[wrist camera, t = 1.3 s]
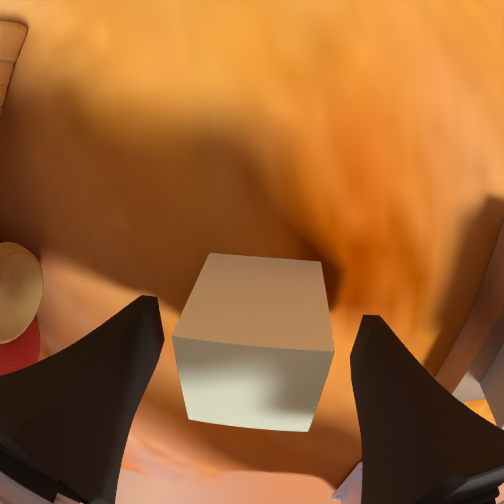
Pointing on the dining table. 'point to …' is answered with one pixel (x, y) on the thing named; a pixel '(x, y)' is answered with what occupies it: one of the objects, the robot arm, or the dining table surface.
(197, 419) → the sage block
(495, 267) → the walnut slab
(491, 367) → the slate cube
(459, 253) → the dining table surface
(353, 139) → the dining table surface
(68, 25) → the dining table surface
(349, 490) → the robot arm
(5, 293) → the kendama
